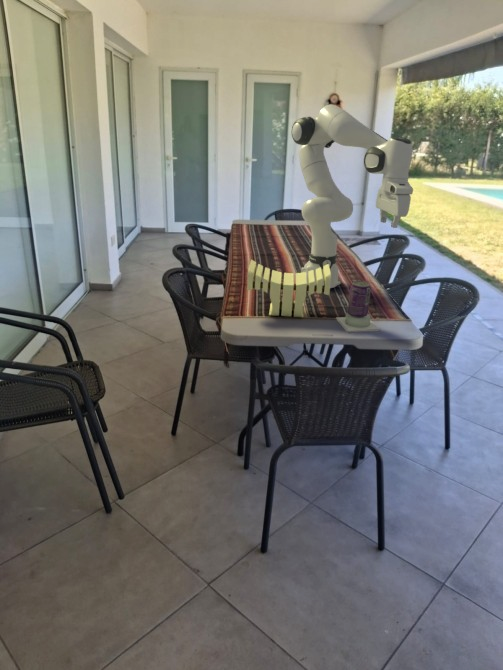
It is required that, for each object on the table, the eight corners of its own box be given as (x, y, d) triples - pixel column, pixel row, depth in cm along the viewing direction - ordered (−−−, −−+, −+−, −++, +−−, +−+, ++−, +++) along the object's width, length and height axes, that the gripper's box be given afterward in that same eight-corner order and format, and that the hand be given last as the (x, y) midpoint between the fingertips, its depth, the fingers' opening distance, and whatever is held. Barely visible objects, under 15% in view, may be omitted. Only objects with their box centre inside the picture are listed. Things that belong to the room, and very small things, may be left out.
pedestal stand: (336, 319, 184) (337, 309, 182) (366, 318, 186) (367, 309, 184) (347, 331, 173) (348, 322, 171) (379, 330, 175) (380, 321, 173)
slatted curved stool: (246, 316, 183) (247, 270, 176) (249, 302, 198) (251, 259, 190) (326, 321, 181) (331, 275, 174) (324, 306, 196) (328, 263, 189)
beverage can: (364, 311, 181) (368, 280, 176) (369, 318, 175) (373, 287, 170) (345, 311, 181) (349, 280, 176) (349, 318, 174) (353, 286, 170)
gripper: (374, 182, 183) (369, 219, 189) (398, 189, 165) (392, 230, 170) (390, 182, 184) (384, 219, 190) (415, 189, 166) (408, 230, 171)
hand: (388, 224), depth 180 cm, fingers open, 8 cm apart
